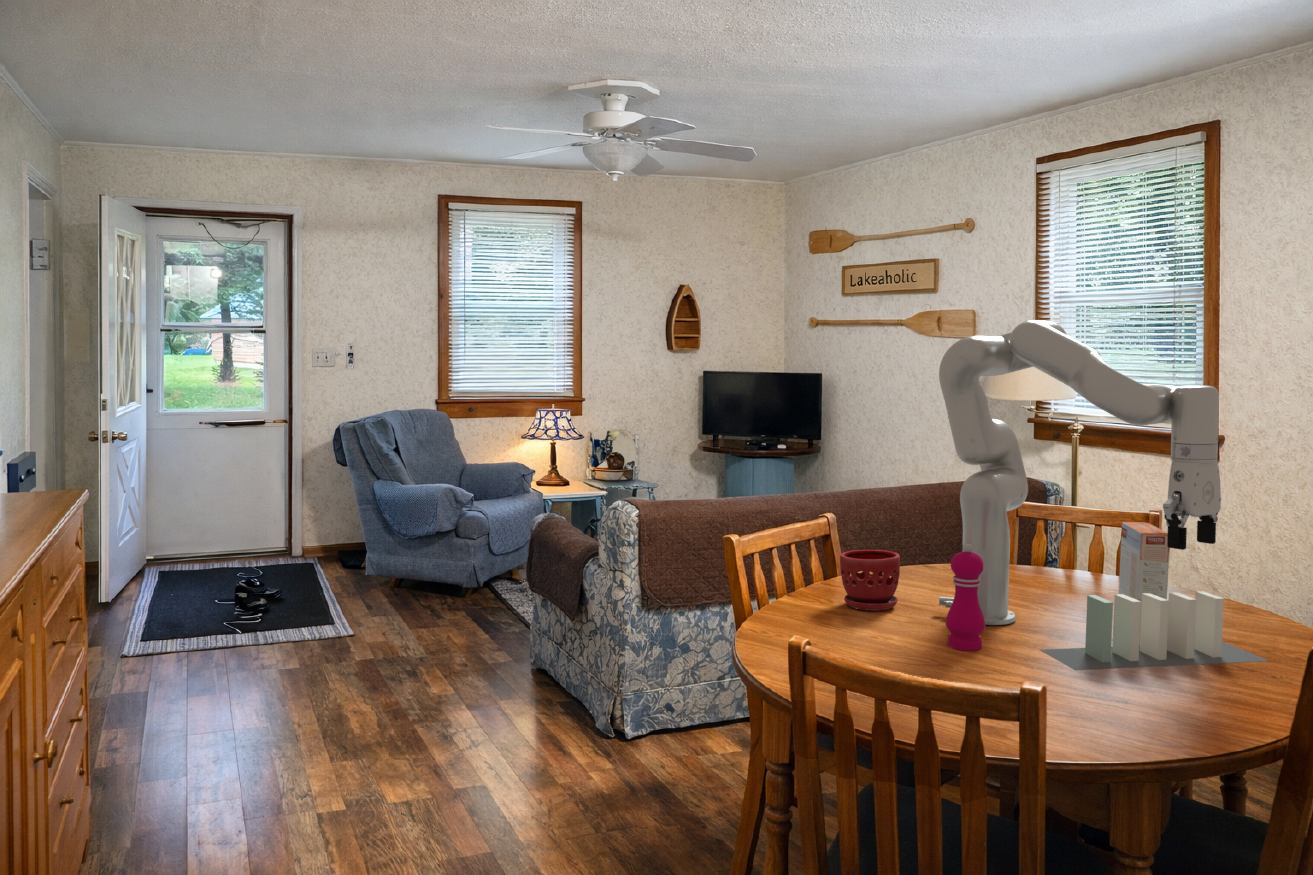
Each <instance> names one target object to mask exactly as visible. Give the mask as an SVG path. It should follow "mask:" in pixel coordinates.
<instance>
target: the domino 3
mask: <svg viewBox="0 0 1313 875" xmlns="http://www.w3.org/2000/svg"><path fill="white" fill-rule="evenodd" d="M1168 600H1169V612H1168V633H1167V650H1168V651H1170V652H1172V653H1174V654H1177V655H1179V656H1181V657H1183V658H1185V659H1190V658H1194V645H1195V624H1196V603H1197V599H1195V597H1194V598H1193V597H1191V596H1189V595H1185V594H1183V593H1181V592H1176V591H1174V592H1168Z"/></svg>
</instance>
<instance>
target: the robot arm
mask: <svg viewBox="0 0 1313 875" xmlns="http://www.w3.org/2000/svg"><path fill="white" fill-rule="evenodd" d="M1030 368H1035V369H1037V370H1038V371H1041V372H1042V373H1044V374H1046V375H1048V376H1050V377H1052V378H1054V379H1055V380H1057V381H1059V382H1061V383H1063V384H1064V385H1066V386H1068V387H1070V388H1071V389H1072V390H1073V391H1074V392H1075V393H1076V394H1079V396H1081V397H1082V398H1084V399H1085V400H1086V401H1087V402H1090V403H1091V404H1092V405H1093V406H1095V407H1097V408H1099V409H1100V410H1103V411H1104V412H1105V413H1108V414H1110V415H1112V416H1113V417H1115V418H1117V419H1119V420H1121V421H1123V422H1125V423H1126V424H1130V425H1133V426H1139V427H1140V426H1141V427H1142V426H1149V425H1156V424H1164V423H1171V430H1170V431H1171V433H1170V434H1171V435H1170V436H1171V437H1170V461H1171V465H1170V470H1169V479H1168V488H1167V489H1168V490H1167V500H1165V502H1163V504H1162V508H1163V513H1164V515H1163V516H1164V520H1165V521H1166V522H1165V524H1166V525H1165V526H1166V527H1167V533H1168V537H1167V546H1168V547H1169V548H1170V549H1174V550H1175V549H1176V550H1181V551H1183V550H1186V549H1187V537H1188V536H1187V533H1188V531H1187V529H1188V528H1187V527H1185V525H1186V524H1187V521H1188V519H1189V516H1190V517H1192V518H1199V520H1197V521H1196V541H1197V542H1198V543H1202V544H1208V545H1209V544H1211V545H1213V544H1216V542H1217V541H1216V539H1217V538H1216V537H1217V536H1216V535H1217V522H1218V514H1219V512H1220V511H1221V508H1222V507H1221V504H1222V497H1221V496H1222V495H1221V477H1220V476H1221V475H1220V467H1219V466H1220V465H1219V462H1218V455H1219V454H1218V453H1219V423H1220V422H1219V420H1220V417H1219V416H1220V414H1219V413H1220V392H1219V389H1217V388H1216V387H1215V386H1212V385H1181V386H1175V385H1167V384H1158V383H1154V384H1152V383H1147V384H1142V383H1141V382H1138V381H1136V380H1135V379H1132V378H1130V377H1128V376H1126V375H1125V374H1122V373H1121V372H1120V371H1117V370H1115V369H1113V368H1112V367H1111V366H1110V365H1108V364H1107V363H1106V362H1105V361H1104V360H1103V358H1102V356H1101V354H1100V352H1099V351H1098V350H1097V349H1095V348H1093V347H1091V346H1089V345H1087V344H1085V343H1083V342H1082V341H1079V340H1078V339H1075V338H1073V337H1072V336H1070V335H1068V334H1067V332H1066V331H1065V329H1064V328H1063V327H1062V326H1061V325H1059V324H1058V323H1056V322H1053V321H1051V320H1050V321H1049V320H1040V319H1038V320H1037V319H1036V320H1035V319H1033V320H1032V319H1031V320H1025V321H1023V322H1021V323H1019V324H1017V325H1016V327H1014V329H1013V330H1012V331H1011V332H1007V333H1004V334H1001V335H996V336H995V335H994V336H993V335H991V336H989V335H988V336H987V335H971V336H965V337H963V338H960V339H959V340H957V341H956V342H954V343H953V344H952V345H951V346H949V348H948V349H947V350H946V351H945V353H944V354H943V356H942V358H941V361H940V364H939V369H938V371H939V372H938V376H939V377H938V380H939V385H940V389H941V393H942V396H943V399H944V404H945V407H946V413H947V419H948V423H949V427H950V431H951V434H952V439H953V444H954V448H955V452H956V455H957V457H958V458H959V459H960V460H961V461H962V462H963V463H964V464H967V465H972V466H973V465H974V466H979V468H980V470H979V471H977V472H974V473H973V474H971V475H970V476H968V477H967V478H966V479H965V481H963V484H962V485H961V488H960V494H959V501H960V502H959V503H960V509H961V510H960V511H961V517H962V518H961V519H962V547H963V546H964V545H965V544H970V545H971V546H972V551H971V552H973V553H976V554H977V555H979V556H980V557H981V559H982V561H983V565H984V568H983V572H982V573H981V574H980V575H979V578H980V579H981V580H980V586H978V591H977V593H978V601H979V605H980V608H981V610H982V613H983V615H984V620H985V626H1002V625H1003V626H1004V625H1005V626H1006V625H1008V624H1013V623H1014V622H1016V614H1015V612H1014V611H1011V610H1009V593H1010V592H1009V588H1010V587H1009V585H1010V582H1009V581H1010V558H1011V557H1010V552H1011V530H1010V524H1009V523H1010V522H1009V518H1008V513H1007V512H1010V511H1013V510H1016V509H1018V508H1020V507H1021V506H1022V505H1023V504H1024V503H1025V501H1026V499H1027V496H1028V493H1029V486H1028V485H1029V483H1028V478H1027V475H1026V474H1027V473H1026V470H1025V465H1024V461H1023V458H1022V453H1021V450H1020V448H1021V447H1020V445H1019V442H1018V438H1017V435H1016V433H1015V432H1014V430H1013V428H1011V426H1010V424H1009V425H1008V424H1007V422H1005V421H1003V420H1001V419H998V418H997V419H996V418H992V415H991V411H990V407H989V402H988V399H987V395H986V392H985V391H984V389H983V388H982V386H981V384H980V378H981V377H991V376H992V377H996V376H1001V375H1002V376H1003V375H1006V374H1011V373H1014V372H1018V371H1022V370H1026V369H1030ZM962 552H964V551H963V550H962ZM954 597H955V595H954V596H953V597H949V596H938V606H943V607H944V606H945V608H949V609H950V608H951V606H952V603H953V601H954Z"/></svg>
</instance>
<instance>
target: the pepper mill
mask: <svg viewBox="0 0 1313 875" xmlns="http://www.w3.org/2000/svg"><path fill="white" fill-rule="evenodd" d="M963 551H964V552H963ZM971 551H972V546H971V545H970V544H965V545H964V546H963V545H962V551H960V552H957V553H956V554H954V555H953V556H952V558H951V562H950V569H951V571H952V573H953V574H954V576H952V578H953V581H952V583H953V584H954V588H955V589H954V596H955V597H954V596H953V598H954V601H953V603H952V606H951V608H950V607H949V610H948V611H947V616H946V618H945V619H946V620H945V627H946V629H947V630H948V631H949V632H950V634H949V635H948V636H947V645H948V646H949V647H950V648H951V649H954V648H955V650H958V649H959V650H958V651H964V650H965V651H967V652H971V651H972V652H973V651H975V652H976V651H980V650H981V649H982V647H983V638H982V637H981V634H982V633H983V632H984V631H985V629H986V625H985V620H984V615H983V613H982V610H981V608H980V605H979V601H978V593H977V591H978V586H980V580H981V579H980V578H979V575H980V574H981V573H982V572H983V568H984V565H983V561H982V559H981V557H980V556H979V555H977V554H976V553H973V552H971Z"/></svg>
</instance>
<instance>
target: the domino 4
mask: <svg viewBox="0 0 1313 875" xmlns="http://www.w3.org/2000/svg"><path fill="white" fill-rule="evenodd" d="M1194 599H1197V603H1196V624H1195V645H1194V649H1195V650H1197V651H1200V652H1202V653H1204V654H1206V655H1209V656H1211V657H1221V649H1222V642H1223V628H1224V627H1223V626H1224V624H1223V623H1224V608H1225V607H1224V604H1225V598H1224V597H1221V596H1218V595H1215V594H1212V593H1209V592H1207V591H1204V590H1203V591H1202V590H1201V591H1198V590H1197V591H1195V597H1194Z"/></svg>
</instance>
